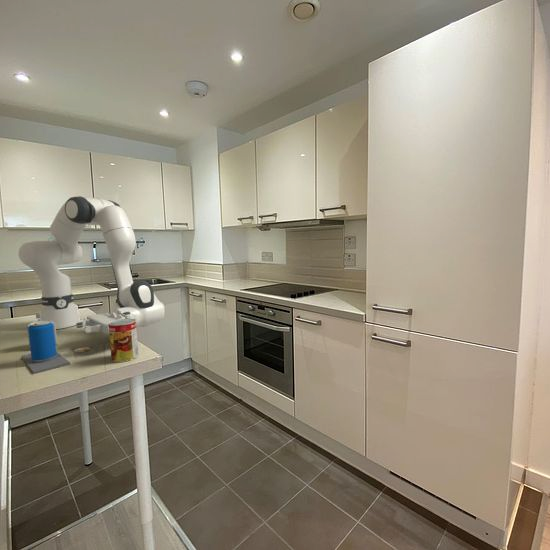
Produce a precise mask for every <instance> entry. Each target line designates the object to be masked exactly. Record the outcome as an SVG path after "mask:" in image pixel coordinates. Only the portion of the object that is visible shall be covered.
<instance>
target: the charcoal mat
mask: <svg viewBox="0 0 550 550" xmlns="http://www.w3.org/2000/svg"><path fill="white" fill-rule="evenodd" d="M56 353H57V355H56V356H55V357H54V358H53V359H51V360H48V361H44V362H35V361H33V360H32V359H31V353H28V354H24V355H21V357H22V358H23V359H22V358H21V359H22V360H23V362H24V361H25V362H24V363H25V364H26V365H28V366H29V367H28V366H27V367H28V368H29V370H31V373H32V374H39V373H42V372H46V371H50V370H52V369H57V368H60V367H65V366H69V365H71V362H70V361H69V360H68V359H66V357H64V355H62V354H61V353H59V351H58V350H56Z"/></svg>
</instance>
